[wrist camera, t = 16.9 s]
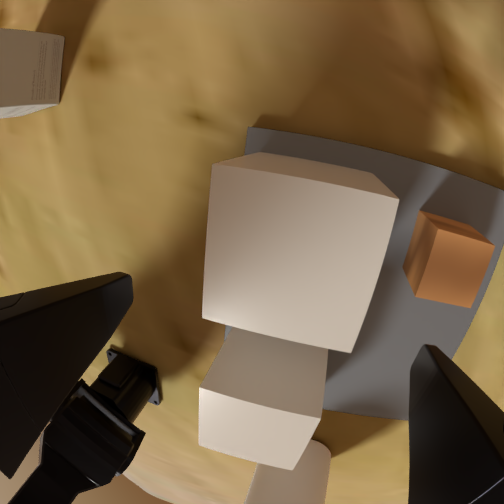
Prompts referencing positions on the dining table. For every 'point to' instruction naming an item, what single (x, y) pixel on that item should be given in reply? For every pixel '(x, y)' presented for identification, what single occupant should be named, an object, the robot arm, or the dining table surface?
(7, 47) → the supplement box
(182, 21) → the dining table surface
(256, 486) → the beverage can
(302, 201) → the block
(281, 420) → the empty cover
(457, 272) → the orange cube
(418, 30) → the dining table surface
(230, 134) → the dining table surface
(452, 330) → the board
